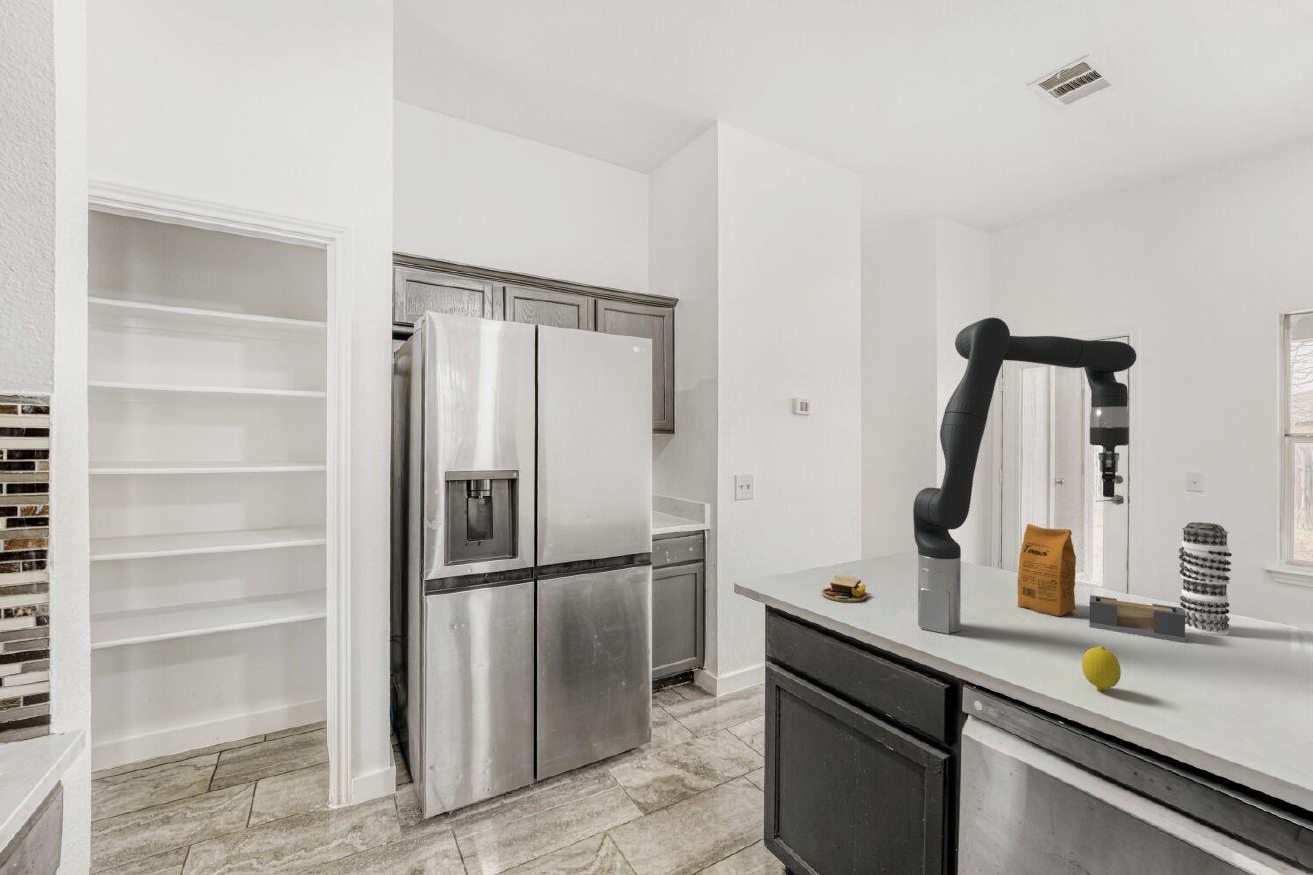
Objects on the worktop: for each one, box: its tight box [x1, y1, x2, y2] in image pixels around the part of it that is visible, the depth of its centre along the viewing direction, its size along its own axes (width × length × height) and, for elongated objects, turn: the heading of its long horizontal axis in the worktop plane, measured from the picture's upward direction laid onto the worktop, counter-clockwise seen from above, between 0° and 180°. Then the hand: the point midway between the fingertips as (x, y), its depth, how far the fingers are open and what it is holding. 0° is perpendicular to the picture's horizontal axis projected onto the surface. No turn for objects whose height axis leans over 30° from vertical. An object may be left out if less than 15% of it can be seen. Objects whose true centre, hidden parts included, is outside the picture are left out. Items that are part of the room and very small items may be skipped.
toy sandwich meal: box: [820, 574, 868, 603], centre depth 164 cm, size 12×14×5 cm
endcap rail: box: [1088, 594, 1186, 644], centre depth 136 cm, size 8×17×6 cm, turn 52°
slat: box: [1100, 598, 1173, 630], centre depth 136 cm, size 3×13×5 cm, turn 52°
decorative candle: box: [1178, 522, 1233, 636], centre depth 136 cm, size 9×9×25 cm
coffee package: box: [1017, 523, 1077, 617], centre depth 152 cm, size 10×12×22 cm
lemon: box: [1081, 645, 1122, 691], centre depth 104 cm, size 6×6×8 cm
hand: (1108, 496), depth 140 cm, fingers closed
